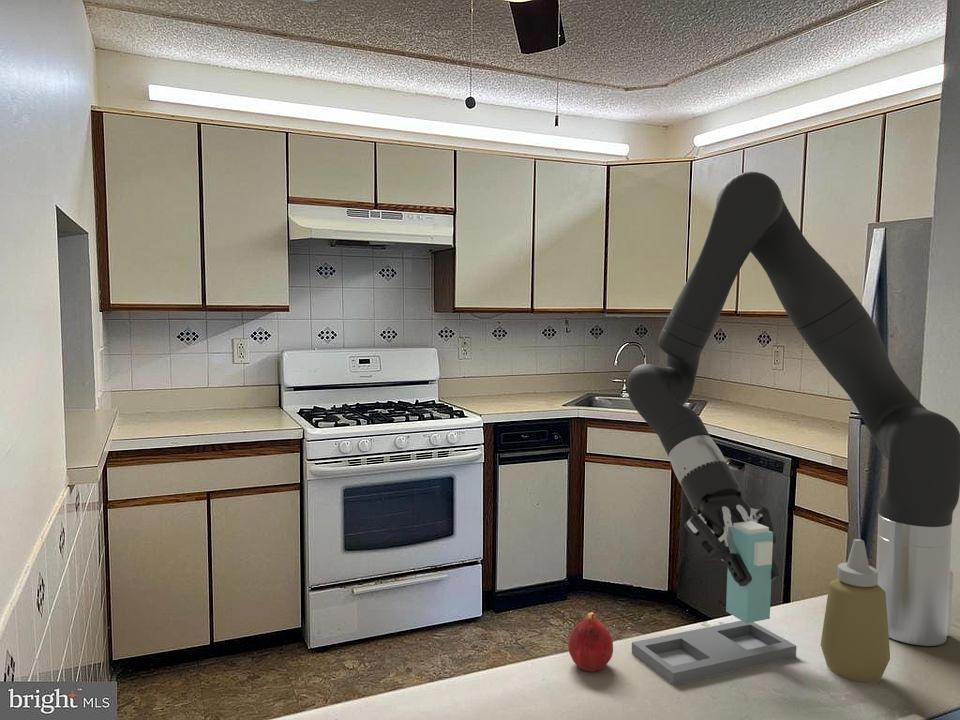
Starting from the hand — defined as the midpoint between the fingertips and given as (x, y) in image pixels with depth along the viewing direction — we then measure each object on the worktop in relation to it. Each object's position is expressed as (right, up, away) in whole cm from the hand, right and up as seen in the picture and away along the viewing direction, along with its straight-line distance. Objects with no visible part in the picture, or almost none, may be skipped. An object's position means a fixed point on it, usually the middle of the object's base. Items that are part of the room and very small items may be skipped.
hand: (759, 580), depth 97 cm
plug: (-1, -5, +2) cm, 6 cm away
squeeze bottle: (+11, -12, -4) cm, 16 cm away
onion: (-23, -11, -3) cm, 26 cm away
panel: (-6, -11, 0) cm, 13 cm away
